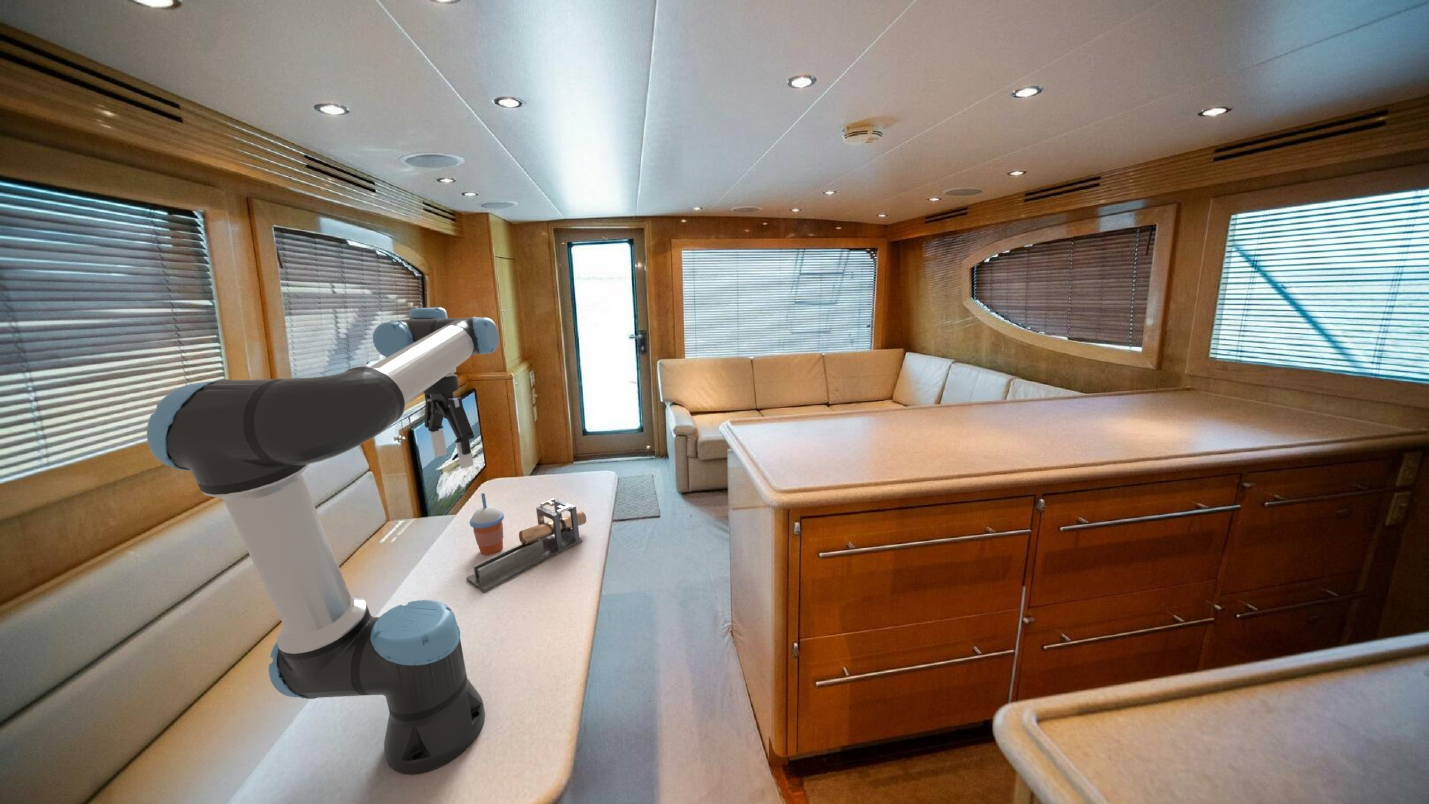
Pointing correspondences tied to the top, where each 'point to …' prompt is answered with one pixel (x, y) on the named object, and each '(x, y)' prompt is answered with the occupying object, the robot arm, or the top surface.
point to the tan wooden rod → (548, 528)
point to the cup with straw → (488, 528)
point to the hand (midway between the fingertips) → (453, 461)
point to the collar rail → (528, 549)
